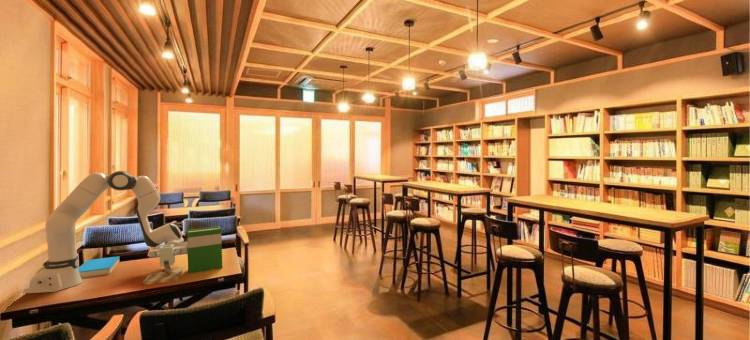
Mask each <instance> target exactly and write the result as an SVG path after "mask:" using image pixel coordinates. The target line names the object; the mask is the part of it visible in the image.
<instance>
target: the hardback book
mask: <svg viewBox="0 0 750 340" xmlns="http://www.w3.org/2000/svg"><path fill="white" fill-rule="evenodd" d="M186 241H187V244H188V253H187V271H188V274H189V275H191V274H197V273H201V272H207V271H208V272H209V271H214V270H218V269H223V244H222V243H223V242H222V241H223V240H222V228H221V227H220V226H212V227H211V226H210V227H201V228H195V229H186Z"/></svg>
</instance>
